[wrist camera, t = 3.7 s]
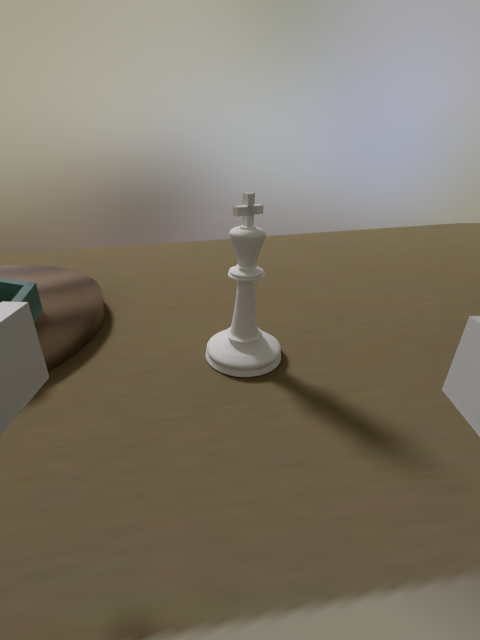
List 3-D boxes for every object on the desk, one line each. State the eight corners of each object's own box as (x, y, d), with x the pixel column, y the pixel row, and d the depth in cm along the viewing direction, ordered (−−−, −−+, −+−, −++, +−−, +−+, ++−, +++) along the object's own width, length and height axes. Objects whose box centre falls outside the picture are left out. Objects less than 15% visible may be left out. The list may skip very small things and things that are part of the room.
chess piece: (296, 360, 22) (317, 196, 17) (234, 388, 19) (238, 203, 15) (250, 329, 25) (256, 186, 21) (191, 349, 23) (184, 190, 18)
